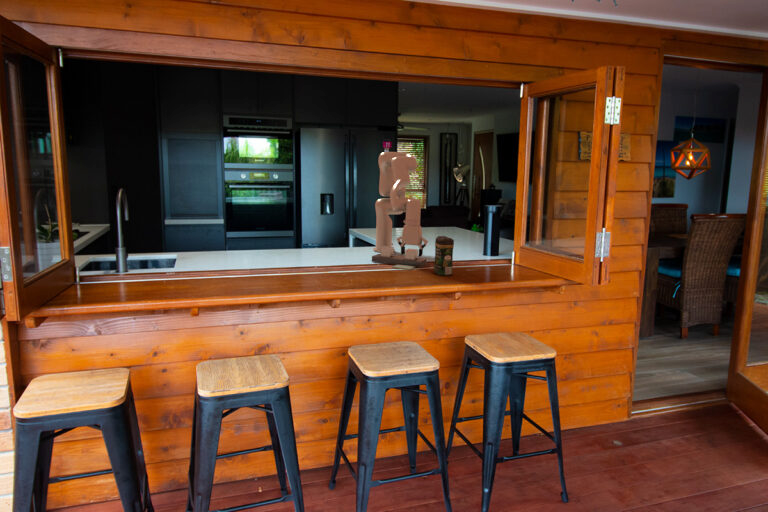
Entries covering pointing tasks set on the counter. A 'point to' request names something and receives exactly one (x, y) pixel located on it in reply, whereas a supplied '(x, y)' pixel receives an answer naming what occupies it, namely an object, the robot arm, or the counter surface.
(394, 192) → the robot arm
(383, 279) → the counter surface
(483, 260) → the counter surface
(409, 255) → the pale pink rectangular block
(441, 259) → the coffee jar
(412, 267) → the mat
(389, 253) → the brown wooden block
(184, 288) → the counter surface
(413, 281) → the counter surface
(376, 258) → the board with square holes
